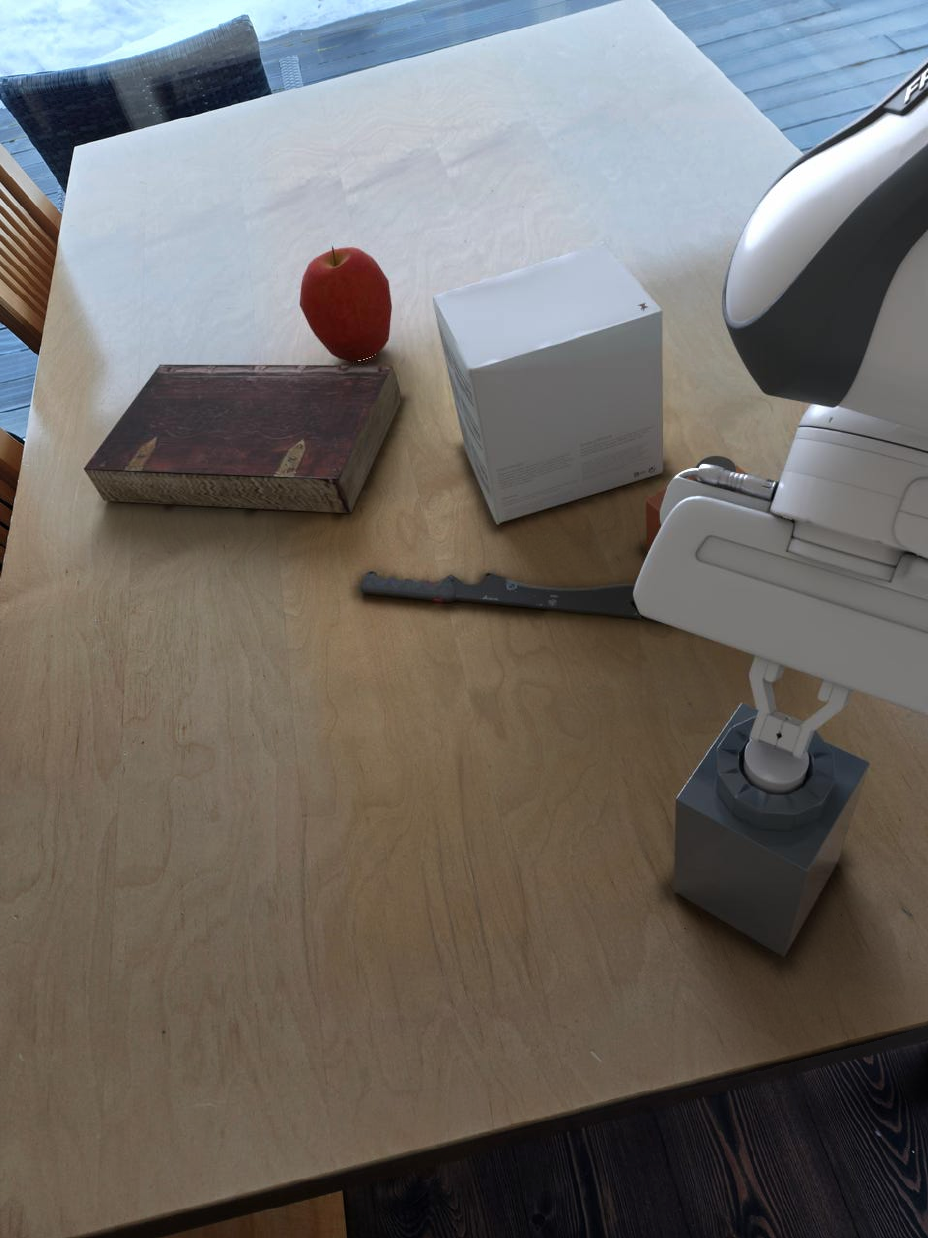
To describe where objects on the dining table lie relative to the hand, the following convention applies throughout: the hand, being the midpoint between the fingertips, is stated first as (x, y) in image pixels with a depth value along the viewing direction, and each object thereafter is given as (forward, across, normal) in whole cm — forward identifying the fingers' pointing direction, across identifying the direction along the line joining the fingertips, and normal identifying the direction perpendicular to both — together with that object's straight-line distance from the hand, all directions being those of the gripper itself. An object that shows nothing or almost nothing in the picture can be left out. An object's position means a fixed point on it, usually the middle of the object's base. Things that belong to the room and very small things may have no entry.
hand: (776, 748), depth 51 cm
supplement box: (-11, -33, +34) cm, 49 cm away
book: (-3, -65, +27) cm, 71 cm away
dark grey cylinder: (-13, -14, +25) cm, 31 cm away
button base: (-7, -14, +30) cm, 34 cm away
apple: (-17, -64, +40) cm, 78 cm away
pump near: (+2, 0, +2) cm, 3 cm away
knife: (+1, -26, +23) cm, 35 cm away
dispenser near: (+12, 0, +12) cm, 16 cm away
